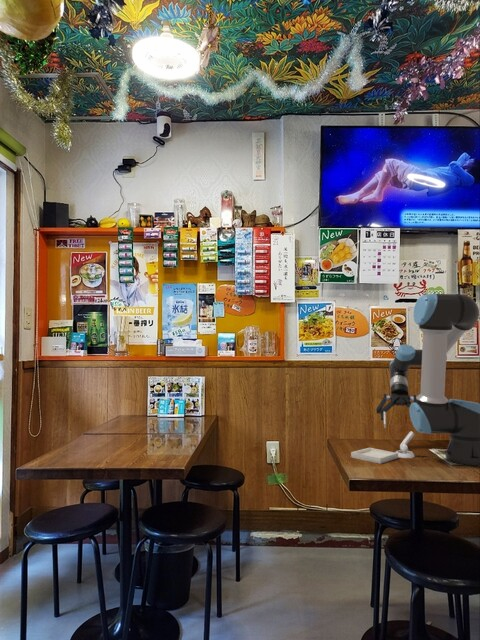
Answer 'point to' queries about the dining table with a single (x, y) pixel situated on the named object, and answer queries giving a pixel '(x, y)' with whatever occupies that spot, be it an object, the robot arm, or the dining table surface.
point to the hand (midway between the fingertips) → (401, 426)
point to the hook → (404, 449)
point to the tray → (374, 455)
